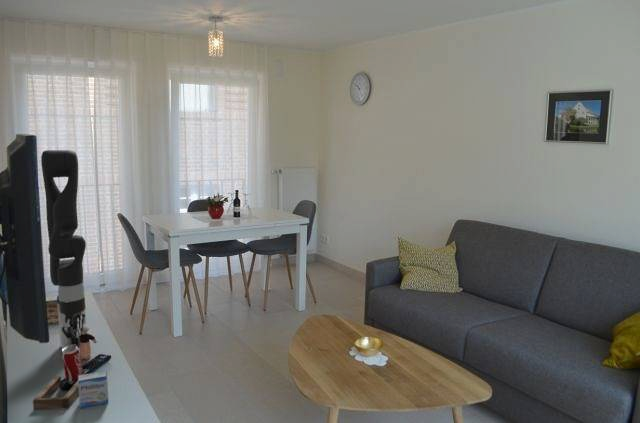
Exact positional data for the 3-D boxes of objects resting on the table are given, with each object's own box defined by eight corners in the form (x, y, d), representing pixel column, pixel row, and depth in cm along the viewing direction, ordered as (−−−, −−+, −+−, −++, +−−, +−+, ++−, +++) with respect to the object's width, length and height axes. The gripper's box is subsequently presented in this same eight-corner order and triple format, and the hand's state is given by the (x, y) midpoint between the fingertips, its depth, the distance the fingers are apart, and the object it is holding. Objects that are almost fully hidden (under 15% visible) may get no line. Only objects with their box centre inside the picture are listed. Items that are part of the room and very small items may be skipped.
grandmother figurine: (74, 362, 181) (71, 328, 179) (74, 357, 184) (72, 324, 182) (97, 358, 184) (95, 324, 182) (98, 354, 187) (95, 321, 185)
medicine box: (79, 409, 151) (77, 381, 149) (80, 401, 155) (78, 374, 153) (108, 403, 154) (106, 376, 152) (108, 396, 158) (106, 369, 156)
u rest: (56, 385, 165) (55, 376, 164) (87, 384, 165) (86, 375, 165) (33, 409, 150) (32, 400, 150) (68, 408, 151) (67, 399, 150)
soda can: (77, 386, 164) (71, 353, 161) (62, 383, 165) (57, 351, 162) (87, 376, 169) (82, 344, 165) (73, 373, 170) (67, 342, 166)
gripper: (68, 290, 171) (72, 339, 174) (50, 304, 158) (55, 357, 161) (91, 290, 172) (95, 339, 175) (75, 303, 159) (79, 356, 162)
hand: (76, 347), depth 168 cm, fingers closed
